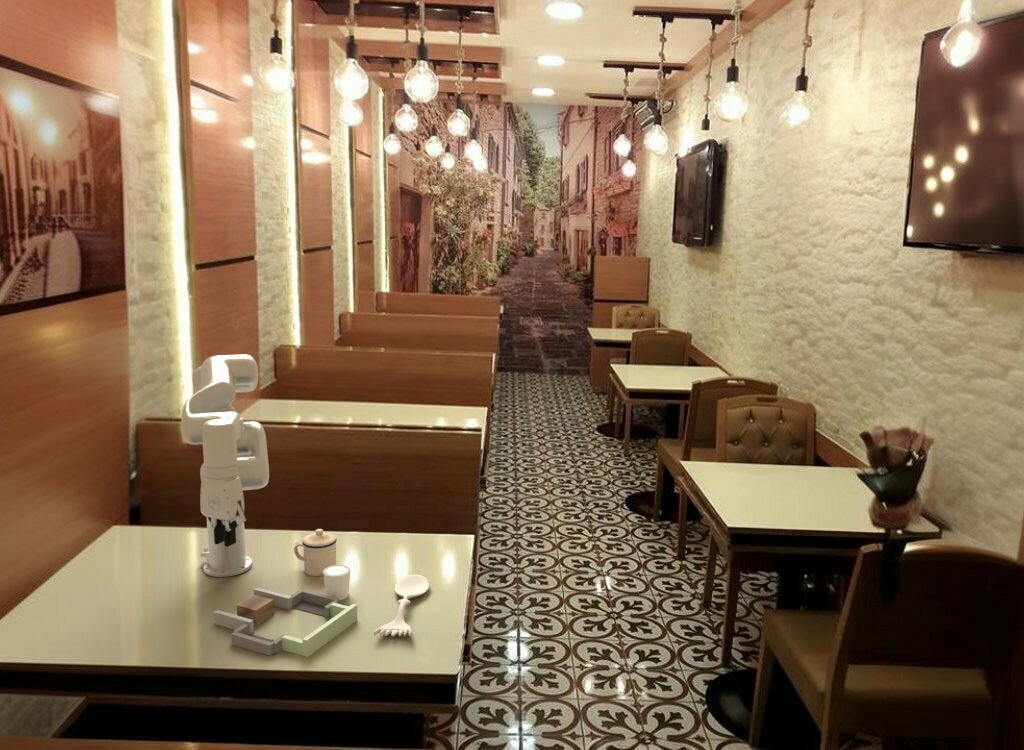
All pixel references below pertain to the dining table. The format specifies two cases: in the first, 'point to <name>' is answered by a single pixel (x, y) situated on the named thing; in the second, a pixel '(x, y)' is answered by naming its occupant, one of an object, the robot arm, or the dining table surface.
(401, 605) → the spoon
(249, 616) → the walnut block
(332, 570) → the shot glass
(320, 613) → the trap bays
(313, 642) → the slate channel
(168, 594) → the dining table surface
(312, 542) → the teacup with lid
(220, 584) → the dining table surface
